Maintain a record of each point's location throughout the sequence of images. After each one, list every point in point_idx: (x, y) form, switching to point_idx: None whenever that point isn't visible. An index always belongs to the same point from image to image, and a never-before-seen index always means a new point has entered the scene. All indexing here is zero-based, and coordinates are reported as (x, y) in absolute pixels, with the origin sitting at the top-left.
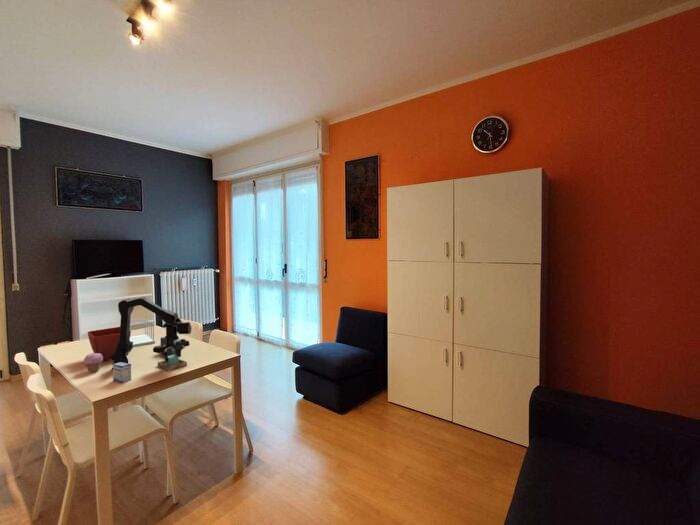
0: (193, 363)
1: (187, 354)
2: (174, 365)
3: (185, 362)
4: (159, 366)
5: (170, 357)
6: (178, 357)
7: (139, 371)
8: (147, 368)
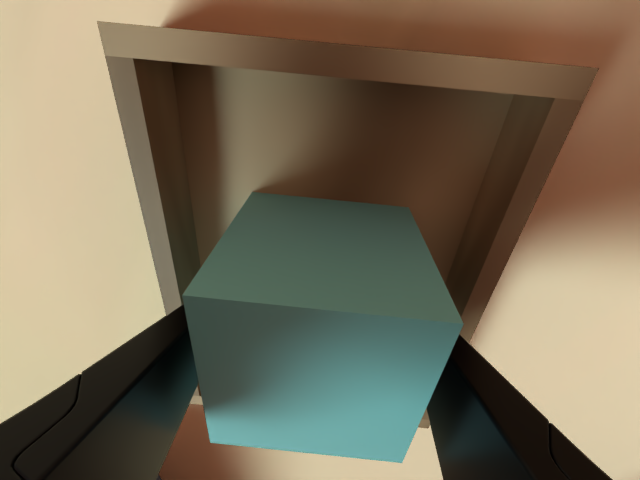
0: (4, 33)
1: (23, 409)
2: (454, 55)
3: (142, 26)
4: None
5: (386, 372)
6: (202, 269)
7: (623, 396)
8: None
